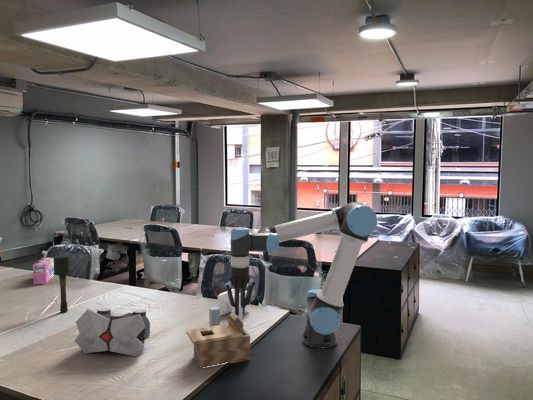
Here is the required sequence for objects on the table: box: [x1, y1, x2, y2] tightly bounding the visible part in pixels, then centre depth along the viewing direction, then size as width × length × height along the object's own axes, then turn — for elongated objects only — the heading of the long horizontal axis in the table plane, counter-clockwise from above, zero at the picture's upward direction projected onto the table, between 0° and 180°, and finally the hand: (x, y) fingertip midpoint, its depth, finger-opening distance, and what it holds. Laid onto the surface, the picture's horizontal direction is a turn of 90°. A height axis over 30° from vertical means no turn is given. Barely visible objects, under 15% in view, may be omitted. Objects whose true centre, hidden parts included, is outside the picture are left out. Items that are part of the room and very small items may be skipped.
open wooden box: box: [193, 328, 251, 369], centre depth 170 cm, size 20×12×10 cm, turn 113°
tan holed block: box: [185, 313, 244, 346], centre depth 169 cm, size 20×12×5 cm, turn 113°
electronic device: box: [74, 307, 151, 357], centre depth 178 cm, size 18×21×30 cm
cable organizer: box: [217, 288, 251, 317], centre depth 221 cm, size 15×11×12 cm
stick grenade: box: [53, 254, 72, 314], centre depth 223 cm, size 8×9×30 cm
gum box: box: [32, 256, 55, 285], centre depth 286 cm, size 24×8×14 cm, turn 13°
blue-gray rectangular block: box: [208, 306, 221, 327], centre depth 184 cm, size 4×4×16 cm
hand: (239, 322), depth 173 cm, fingers closed
